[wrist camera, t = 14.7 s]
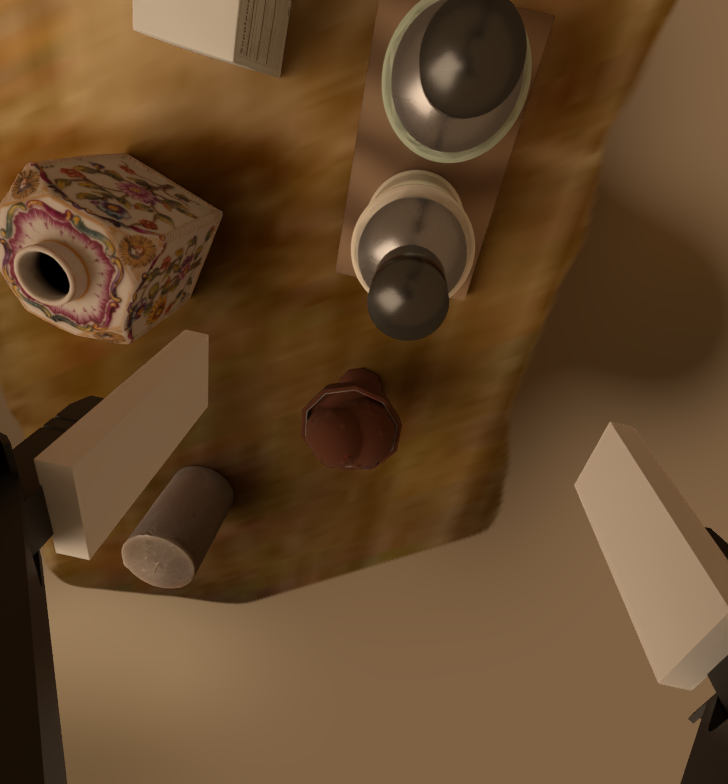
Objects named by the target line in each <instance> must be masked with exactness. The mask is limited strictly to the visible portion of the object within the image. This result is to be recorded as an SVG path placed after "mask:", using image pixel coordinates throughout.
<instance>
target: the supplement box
mask: <svg viewBox="0 0 728 784" xmlns="http://www.w3.org/2000/svg"><path fill="white" fill-rule="evenodd" d="M291 2H292V0H133V29H134V30H135V31H137V32H139V33H142V34H144V35H147V36H150V37H152V38H155V39H157V40H160V41H163V42H166V43H168V44H171V45H174V46H177V47H180V48H182V49H185V50H188V51H191V52H195V53H198V54H201V55H204V56H207V57H210V58H214V59H217V60H220V61H224V62H227V63H230V64H234V65H237V66H240V67H244V68H247V69H251V70H254V71H258V72H261V73H265V74H268V75H272V76H275V77H278V78H280V76H281V68H282V61H283V55H284V48H285V41H286V35H287V28H288V22H289V15H290V8H291Z"/></svg>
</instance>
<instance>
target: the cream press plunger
mask: <svg viewBox="0 0 728 784" xmlns="http://www.w3.org/2000/svg"><path fill="white" fill-rule="evenodd" d="M466 260H467V244H466V238H465V235H464V232H463V229H462V227H461V225H460V223H459V221H458V220H457V218H456V217H455V216H454V215H453V213H452V212H451V211H450V210H449V209H447V208H446V207H445V206H444V205H442V204H440V203H439V202H437V201H434V200H432V199H429V198H425V197H419V196H410V197H403V198H399V199H396V200H394V201H391V202H389V203H387V204H386V205H384V206H383V207H381V208H380V209H379V210H378V211H377V212H376V213H375V214H374V215H373V216H372V217H371V218H370V220H369V221H368V223H367V224H366V226H365V228H364V230H363V232H362V235H361V237H360V241H359V246H358V263H359V268H360V272H361V274H362V277H363V279H364V281H365V282H366V284H367V286H368V287H369V288H370V289H369V293H368V299H367V305H368V311H369V314H370V317H371V319H372V321H373V322H374V324H375V325H376V326H377V327H378V328H379V329H380V330H381V331H382V332H383V333H384V334H386V335H388V336H390V337H392V338H395V339H398V340H406V341H410V340H417V339H421V338H424V337H426V336H428V335H430V334H431V333H433V332H434V331H435V330H436V329H437V328H438V327H439V326H440V325H441V324H442V322H443V321H444V319H445V317H446V315H447V312H448V308H449V293H450V292H451V291H452V289H453V288H454V287H455V286H456V284H457V283H458V282H459V280H460V278H461V276H462V274H463V271H464V269H465V265H466Z"/></svg>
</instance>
